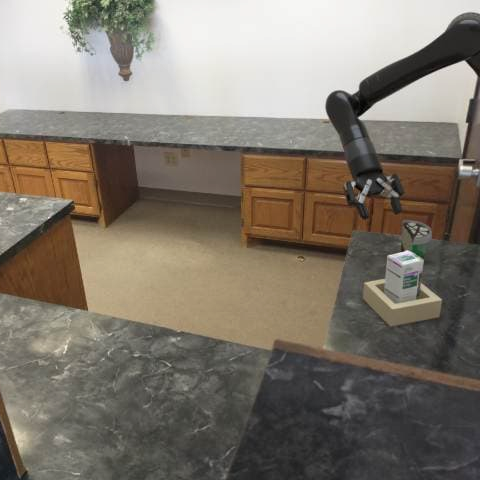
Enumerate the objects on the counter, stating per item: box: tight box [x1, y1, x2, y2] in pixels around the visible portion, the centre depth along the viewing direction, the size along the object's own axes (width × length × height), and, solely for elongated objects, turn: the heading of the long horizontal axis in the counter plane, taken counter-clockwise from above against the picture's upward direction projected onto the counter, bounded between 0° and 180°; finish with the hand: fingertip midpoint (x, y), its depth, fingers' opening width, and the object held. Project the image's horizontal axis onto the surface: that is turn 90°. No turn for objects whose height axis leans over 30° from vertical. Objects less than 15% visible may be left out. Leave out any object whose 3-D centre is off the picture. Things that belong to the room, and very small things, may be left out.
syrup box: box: [384, 250, 425, 304], centre depth 123 cm, size 6×6×14 cm
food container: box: [399, 219, 433, 261], centre depth 144 cm, size 12×6×10 cm, turn 171°
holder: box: [362, 278, 443, 328], centre depth 126 cm, size 13×13×5 cm
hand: (382, 216), depth 128 cm, fingers open, 8 cm apart
